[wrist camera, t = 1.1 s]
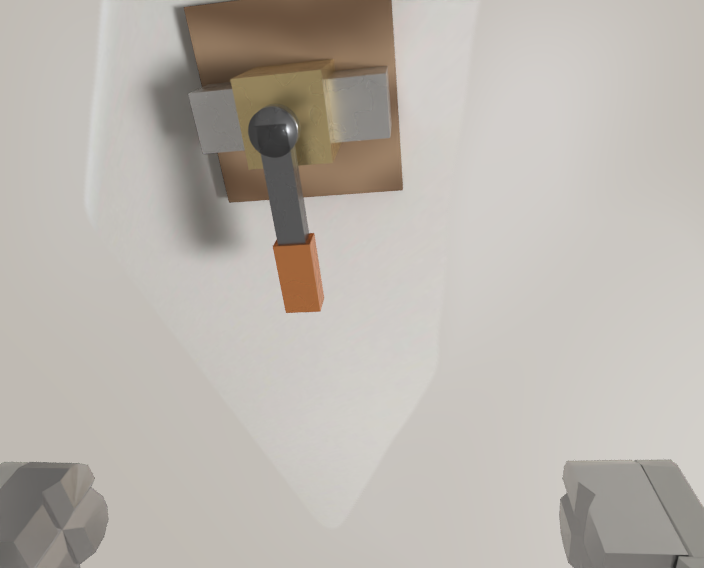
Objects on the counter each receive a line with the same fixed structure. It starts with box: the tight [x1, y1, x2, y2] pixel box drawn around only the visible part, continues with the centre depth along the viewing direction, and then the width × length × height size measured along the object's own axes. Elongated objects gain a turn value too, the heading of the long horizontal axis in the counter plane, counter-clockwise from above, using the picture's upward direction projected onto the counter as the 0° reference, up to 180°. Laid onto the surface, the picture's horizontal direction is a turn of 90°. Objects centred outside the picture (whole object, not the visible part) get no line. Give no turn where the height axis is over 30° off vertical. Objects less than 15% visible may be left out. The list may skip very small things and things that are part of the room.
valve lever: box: [248, 104, 324, 313], centre depth 33 cm, size 13×3×2 cm, turn 6°
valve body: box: [188, 59, 392, 170], centre depth 34 cm, size 6×13×7 cm, turn 96°
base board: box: [184, 0, 403, 203], centre depth 38 cm, size 14×14×1 cm
